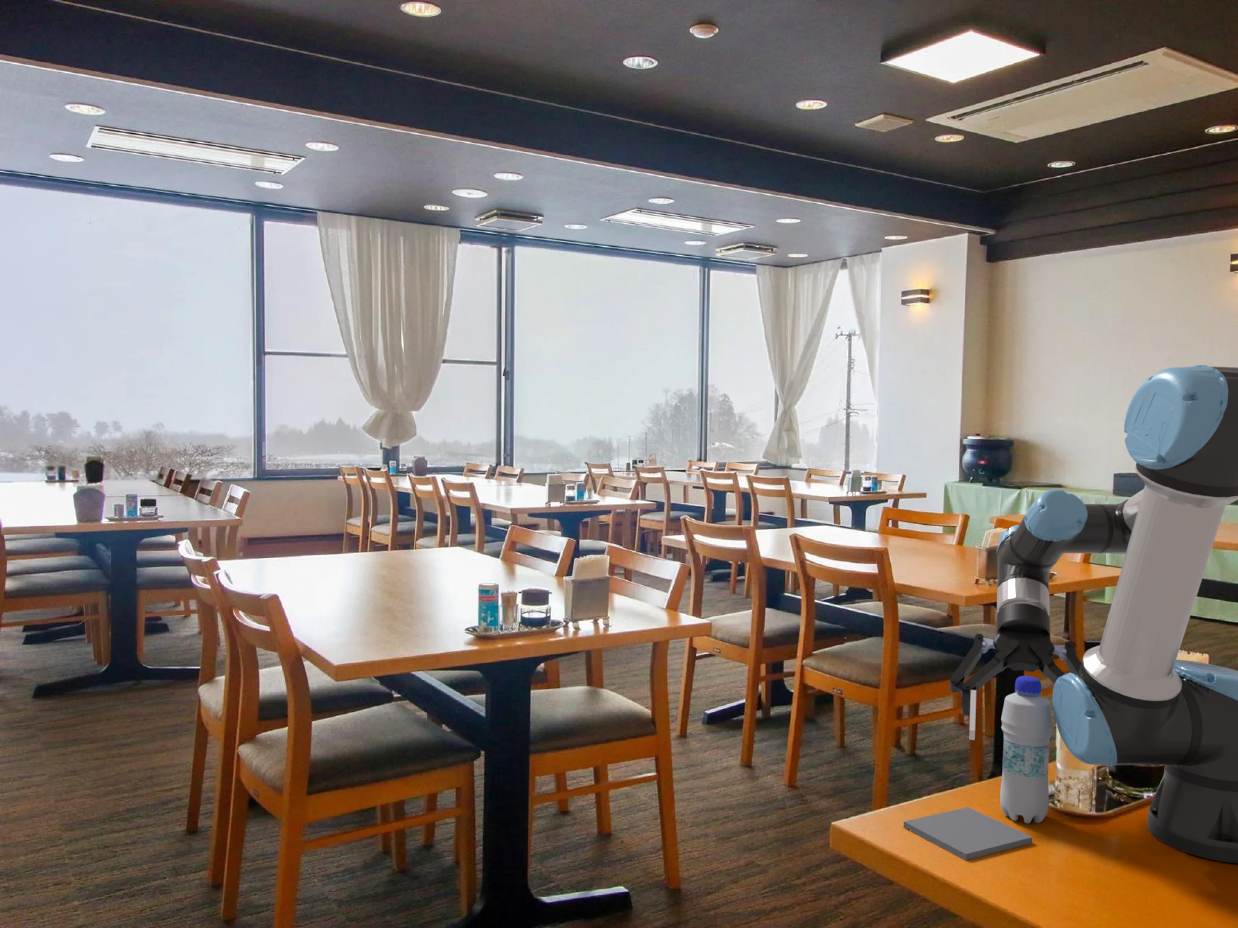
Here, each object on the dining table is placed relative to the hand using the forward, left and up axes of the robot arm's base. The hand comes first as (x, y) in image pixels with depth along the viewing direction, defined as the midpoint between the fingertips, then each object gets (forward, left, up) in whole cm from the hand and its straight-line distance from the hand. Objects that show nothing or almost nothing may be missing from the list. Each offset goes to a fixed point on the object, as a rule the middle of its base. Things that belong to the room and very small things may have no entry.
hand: (1023, 741), depth 135 cm
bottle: (0, -1, -11) cm, 11 cm away
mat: (-1, +11, -11) cm, 16 cm away
